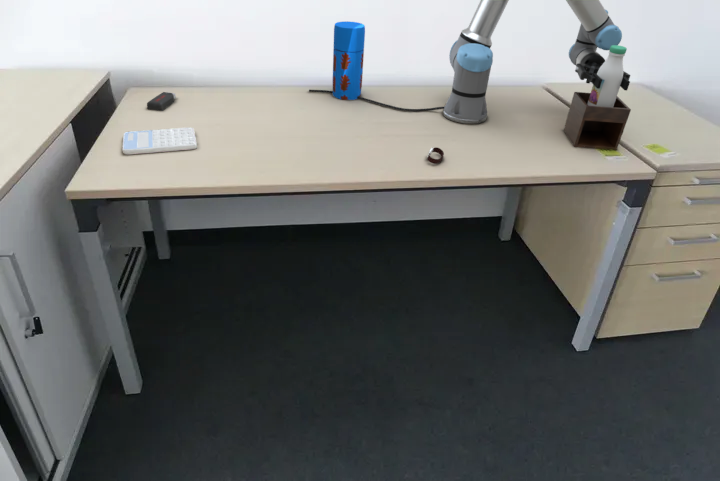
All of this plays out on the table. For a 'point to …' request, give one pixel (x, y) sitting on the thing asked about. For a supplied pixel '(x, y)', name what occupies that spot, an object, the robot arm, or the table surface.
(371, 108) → the table surface
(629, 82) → the robot arm
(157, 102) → the usb drive
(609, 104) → the milk bottle
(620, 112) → the shelf unit
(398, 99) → the table surface
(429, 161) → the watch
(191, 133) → the calculator
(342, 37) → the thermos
